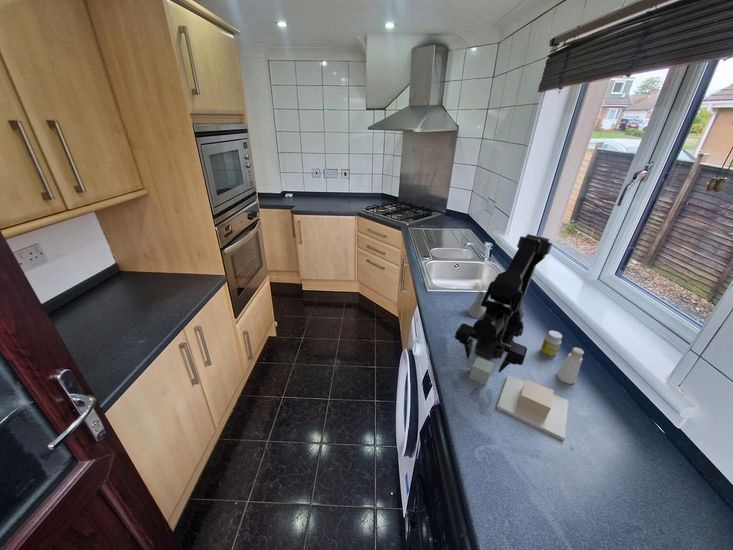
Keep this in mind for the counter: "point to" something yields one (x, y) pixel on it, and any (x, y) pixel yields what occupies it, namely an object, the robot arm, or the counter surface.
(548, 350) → the supplement bottle
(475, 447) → the counter surface
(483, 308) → the flask
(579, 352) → the pepper shaker
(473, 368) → the sage cube
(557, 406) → the build base
